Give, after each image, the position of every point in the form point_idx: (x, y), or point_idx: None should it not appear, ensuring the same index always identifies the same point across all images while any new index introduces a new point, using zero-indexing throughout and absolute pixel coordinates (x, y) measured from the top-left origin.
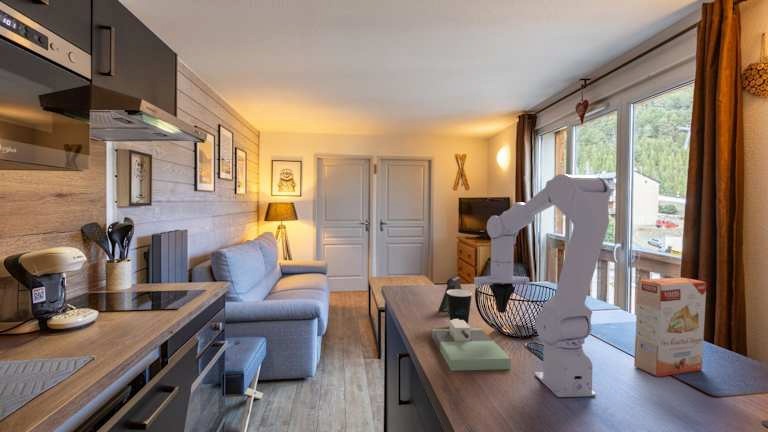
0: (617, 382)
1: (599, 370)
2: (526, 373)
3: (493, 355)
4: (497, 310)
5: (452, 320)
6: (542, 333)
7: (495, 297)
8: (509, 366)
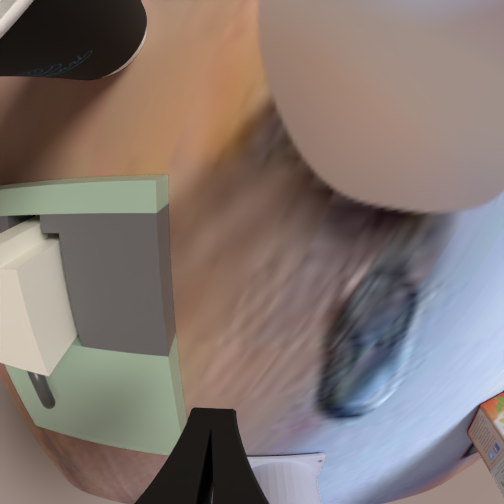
0: (391, 458)
1: (408, 428)
2: None
3: (138, 440)
4: (191, 413)
5: None
6: None
7: (157, 499)
8: None
